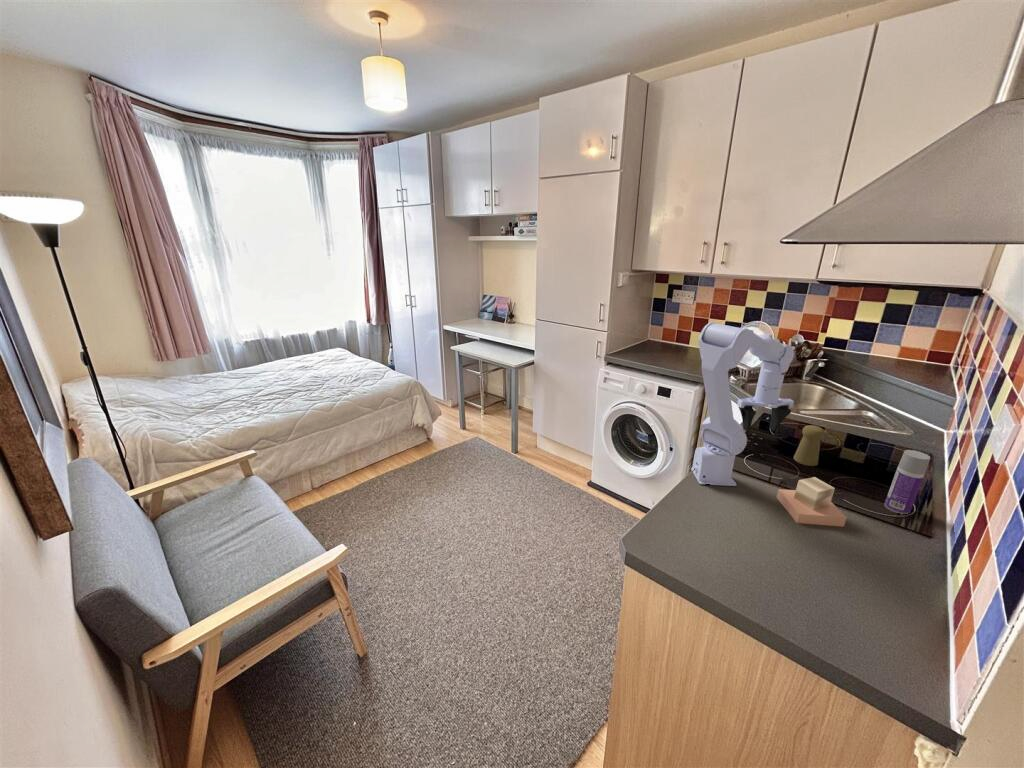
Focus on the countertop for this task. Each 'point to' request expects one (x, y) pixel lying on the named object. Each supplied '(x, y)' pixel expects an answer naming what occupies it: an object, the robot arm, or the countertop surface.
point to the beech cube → (814, 493)
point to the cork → (809, 446)
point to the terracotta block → (810, 511)
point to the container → (907, 481)
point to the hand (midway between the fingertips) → (759, 429)
